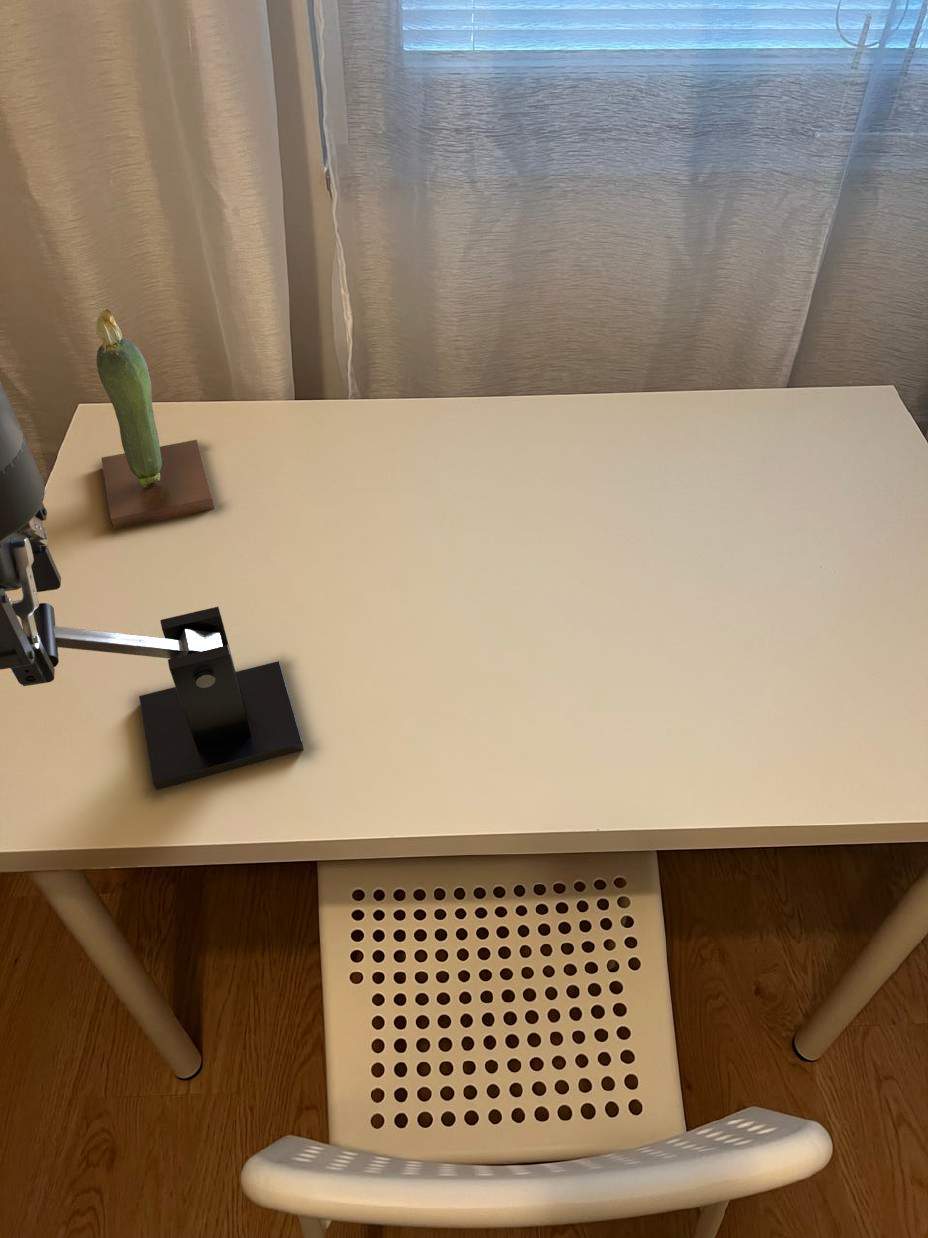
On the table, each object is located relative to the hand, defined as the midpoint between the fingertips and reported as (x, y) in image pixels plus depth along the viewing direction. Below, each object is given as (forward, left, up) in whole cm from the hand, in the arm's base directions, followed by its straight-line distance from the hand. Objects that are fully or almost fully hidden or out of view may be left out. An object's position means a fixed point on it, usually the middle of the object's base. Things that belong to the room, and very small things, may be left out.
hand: (43, 631), depth 65 cm
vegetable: (+8, +32, -15) cm, 36 cm away
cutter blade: (+5, 0, -4) cm, 6 cm away
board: (+9, +32, -16) cm, 37 cm away
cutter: (+10, 0, -16) cm, 18 cm away
